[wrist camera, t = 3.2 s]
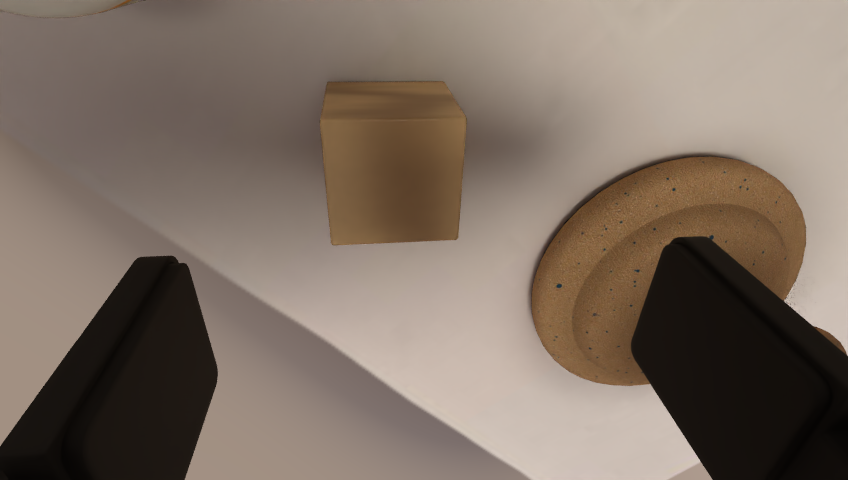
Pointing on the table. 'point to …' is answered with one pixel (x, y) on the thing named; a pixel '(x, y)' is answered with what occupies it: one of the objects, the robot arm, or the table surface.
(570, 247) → the candle holder
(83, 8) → the supplement bottle
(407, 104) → the maple block
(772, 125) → the table surface
